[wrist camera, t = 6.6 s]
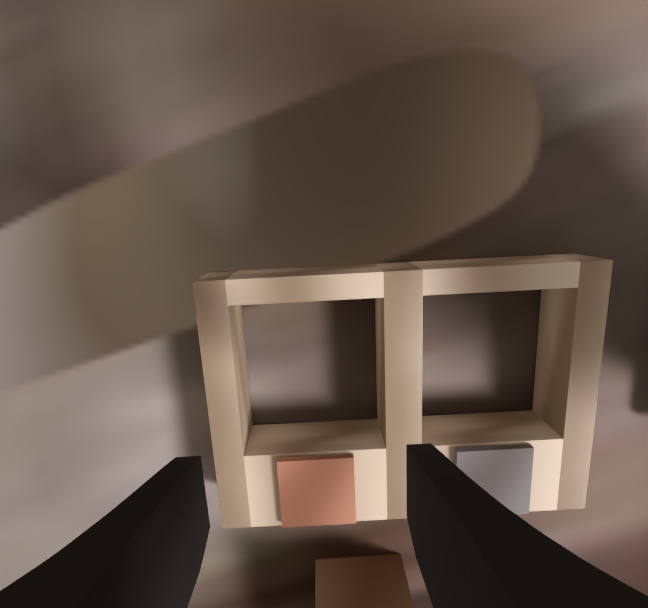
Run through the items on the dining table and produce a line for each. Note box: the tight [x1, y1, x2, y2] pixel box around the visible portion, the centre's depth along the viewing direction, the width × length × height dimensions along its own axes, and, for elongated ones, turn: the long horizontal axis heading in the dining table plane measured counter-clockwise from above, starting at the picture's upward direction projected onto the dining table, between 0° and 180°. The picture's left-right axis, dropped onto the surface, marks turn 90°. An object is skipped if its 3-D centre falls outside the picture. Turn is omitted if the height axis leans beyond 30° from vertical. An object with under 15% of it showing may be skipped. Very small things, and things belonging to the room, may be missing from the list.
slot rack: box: [192, 253, 613, 529], centre depth 17 cm, size 16×11×3 cm
